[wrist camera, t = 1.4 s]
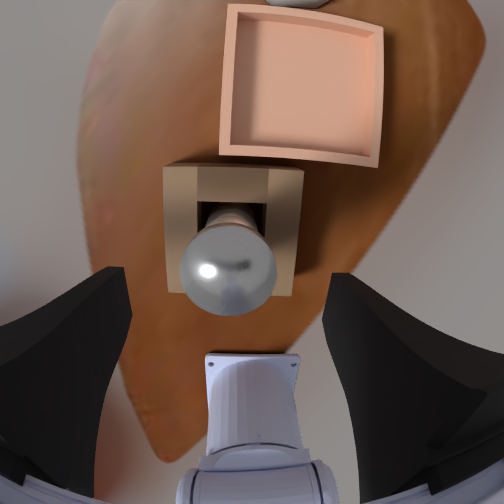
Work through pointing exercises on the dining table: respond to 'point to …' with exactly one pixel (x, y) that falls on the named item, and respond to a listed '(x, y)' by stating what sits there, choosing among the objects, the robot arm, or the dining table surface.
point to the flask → (297, 3)
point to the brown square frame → (233, 190)
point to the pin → (229, 263)
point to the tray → (301, 86)
